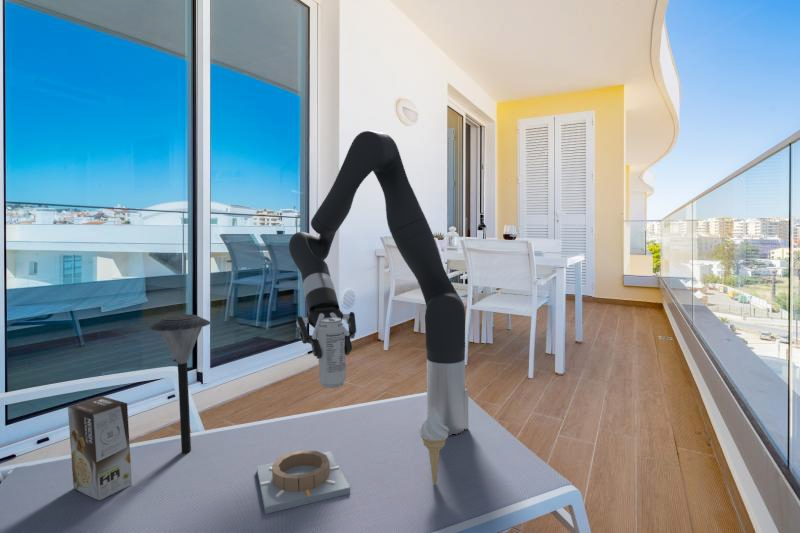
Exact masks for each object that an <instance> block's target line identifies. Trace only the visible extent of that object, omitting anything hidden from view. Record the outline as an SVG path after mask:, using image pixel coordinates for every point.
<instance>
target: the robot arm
mask: <svg viewBox="0 0 800 533" xmlns="http://www.w3.org/2000/svg"><path fill="white" fill-rule="evenodd" d="M372 172H373V174H374V175H375V177H376V179H377V182H378V184H379V186H380V188H381V191H382V193H383V196H384V202H385V213H386V214H385V215H386V221H387V226H388V229H389V232H390V235H391V237H392V239H393V241H394V243H395V246H396V248H397V250H398V251H399V253H400V255H401V256H402V259H403V260H404V262H405V263H406V265H407V266H408V268H409V269H410V271H411V272H412V273H413V276H414V277H415V279H416V280H417V283H418V285H419V287H420V291H421V294H422V296H423V300H424V303H425V305H426V308H425V319H424V322H425V350H426V419H427V418H428V416H429V415H430V414H431V412H432V410H433V408H434V407H435V409H436V411H437V413H438V415H439V417H440V418H441V419H442V420H443V422H444V423H445V424H444V425H445V426H446V427H448V429H449V432H447V433H448V436H453V435H452V434H456V435H459V434H461V433H463V432H464V431H465V430H468V429H469V390H468V388H466V310H465V305H464V302H463V300H462V299H461V297H460V295H459V294H458V292H457V290H456V289H455V287H454V285H453V283H452V281H451V280H450V278H449V276H448V273H447V272H446V270H445V268H444V264H443V262H442V258H441V254H440V252H439V248H438V246H437V242H436V240H435V237H434V234H433V231H432V229H431V227H430V224H429V222H428V220H427V218H426V215H425V214H424V211H423V210H422V207H421V205H420V202H419V201H418V198H417V196H416V194H415V192H414V189H413V187H412V186H411V183H410V181H409V178H408V175H407V172H406V170H405V166H404V164H403V160H402V156H401V153H400V151H399V148H398V145H397V144H396V142H395V140H394V139H393V138H392V137H391V136H390V135H389V134H388V133H387V134H386V133H385V132H379V131H374V130H365V131H362V132H360V133H358V134H357V135H356V136H355V137H354V139H353V140H352V143H351V144H350V146H349V149H348V150H347V153H346V156H345V158H344V160H343V163H342V165H341V167H340V169H339V170H338V173H337V176H336V178H335V180H334V182H333V184H332V185H331V188H330V190H329V191H328V194H326V196H325V199H324V200H323V201H322V202H321V204H320V206H319V207H318V208H317V211H316V212H315V214H314V215H313V216H312V218H311V221H310V226H311V228H312V230H313V231H314V232H315V233H317V234H318V235H319V236H318V235H315V234H310V233H308V232H305V231H297V232H295V233H294V234H293V235H292V236H291V237H290V240H289V243H288V250H289V253H290V254H289V255H290V257H291V259H292V261H293V262H294V264H295V265H296V268H297V270H298V271H299V272H300V274H301V280H302V285H303V297H304V300H305V305H306V308H307V309H306V310H307V311H306V312H307V317H302V316H297V317H296V323H295V324H296V325H295V326H296V329H297V331H298V333H299V336H300V339H301V342H302V344H310V346H311V349H312V356H314V357H316V359H318V358H321V349H320V344H319V341H318V330H317V327H318V325H319V323H320V319H323V318H330V317H336V318H341V319H342V320H341V321H342V322H343V320H344V322H345V323H346V324H347V325H348V330H347V328H346V327H345V324H344V323H343V325H344V330H345V356H348V355H350V353H351V352H352V350H353V349H352V348H353V345H352V341H351V339H354V338H356V337H355V336H356V333H357V325H356V315H355V314H356V313H355V312H353V311H350V312H349V313H343V312H342V311H341V308H340V305H339V301H338V297H337V293H336V289H335V285H334V282H333V280H332V278H331V275H330V270H329V266H328V264H327V262H326V261H325V260H326V259H327V257H328V256H329V253H330V250H331V247H332V244H333V241H334V239H335V235H336V233H337V231H339V228H340V227H341V226H342V224H343V223H344V221H345V220H346V218H347V216H348V215H349V213H350V211H351V208H352V206H353V202H354V198H355V196H356V193H357V191H358V189H359V188H360V186H361V184H362V183H363V181H364V180H365V179H366V178H367V177H368V176H369V175H370V174H371V173H372ZM308 324H309V325H310V326H311V327H312V328H314V330H313V331H312V332H313V333H312V335H311V334H310V335H309V332H308V329H307V325H308ZM318 360H319V359H318ZM467 428H468V429H467ZM464 429H465V430H464ZM462 431H463V432H462ZM460 432H461V433H460ZM458 433H459V434H458Z"/></svg>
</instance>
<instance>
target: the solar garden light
mask: <svg viewBox="0 0 800 533" xmlns="http://www.w3.org/2000/svg"><path fill="white" fill-rule="evenodd" d="M210 324H212V322H211V321H210V320H208V319H205V318H203V317H201V316H199V315H196V314H186V313H185V314H177V315H176V314H175V315H168V316H165V317H163V318H162V319H159V320H158V321H157V322H154V324H152V325H150V326H149V327H148V329H149V331H154V332H159V333H160V336H161V337H162V339H163V340H164V342H165V344H166V345H167V347H168V349H169V351H170V352H171V354H172V356H173V358H174V360H175V361H176V363H177V374H178V375H177V379H178V381H177V382H178V399H179V422H180V423H179V424H180V443H181V444H180V445H181V446H180V447H181V453H182V454H188V453H190V452H191V451H192V444H191V442H192V439H191V423H190V421H191V420H190V419H191V418H190V400H189V398H190V397H189V393H190V392H189V378H188V377H189V376H188V375H189V373H188V361H189V359H190V356H191V354H192V352H193V349H194V347H195V344H196V343H197V340H198V338H199V336H200V333H201V330H202V328H203V327H207V326H209V325H210Z"/></svg>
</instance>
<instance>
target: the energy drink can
mask: <svg viewBox="0 0 800 533" xmlns="http://www.w3.org/2000/svg"><path fill="white" fill-rule="evenodd" d="M341 320H342V321H341ZM343 324H344V323H343V319H341V318H336V317H330V318H323V319H320V323H319V325H318V327H317V330H318V339H317V340H318V341H319V344H320V349H321V358H318V381H319V383H320V384H321V386H322V388H324V389H325V388H326V389H335V388H340V387H342V386H344V385H345V382H346V380H347V374H346V373H347V370H346V365H347V364H346V354H345V330H344V327H345V324H344V325H343Z"/></svg>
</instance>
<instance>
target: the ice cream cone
mask: <svg viewBox="0 0 800 533" xmlns="http://www.w3.org/2000/svg"><path fill="white" fill-rule="evenodd" d="M444 424H445V423H444V422H443V420H442V419H441V418H440V417H439V415H438V413H437V411H436V409H435V407H434V408H433V410H432V412H431V414H430V415H429V416H428V418H427V417H426V419H425V421H424V422H423V424H422V425H421V426H420V428H419V434H420V437H421V439H422V442H423V446H424V447H425V448H427V450H428V453H429V462H430V470H431V476H432V477H431V478H432V484H433V485H436V484H437V483H438V472H439V463H440V451H441V449H443V447H445V446H446V441H447V439H448V438H449V435H448V433H447V432H449V429H448V427H446V426H445V425H444Z"/></svg>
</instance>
